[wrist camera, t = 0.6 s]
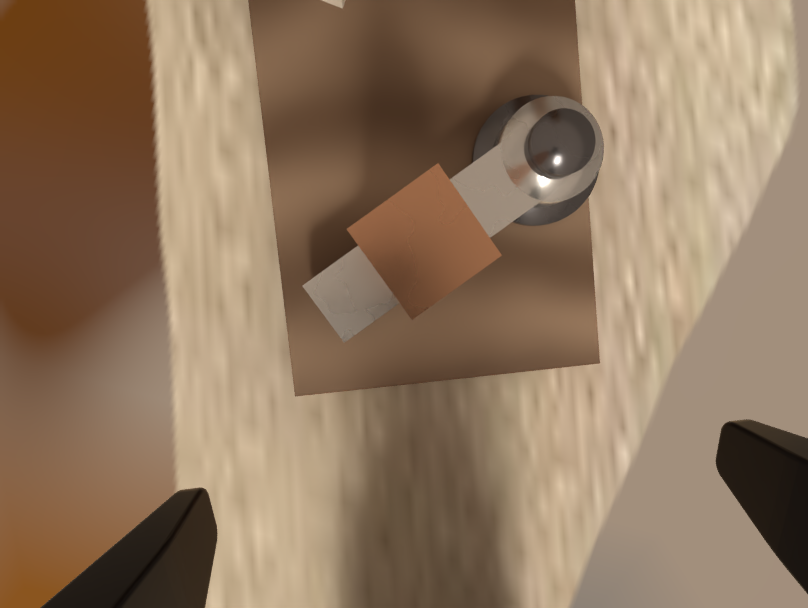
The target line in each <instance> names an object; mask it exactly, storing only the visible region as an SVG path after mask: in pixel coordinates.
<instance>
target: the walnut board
mask: <svg viewBox="0 0 808 608" xmlns="http://www.w3.org/2000/svg"><path fill="white" fill-rule="evenodd" d="M248 1H249V9H250V18H251V26H252V35H253V43H254V52H255V60H256V69H257V77H258V86H259V94H260V103H261V111H262V119H263V128H264V136H265V145H266V153H267V162H268V170H269V179H270V187H271V196H272V204H273V213H274V221H275V230H276V238H277V247H278V255H279V264H280V272H281V280H282V289H283V297H284V306H285V314H286V323H287V331H288V340H289V348H290V357H291V365H292V374H293V382H294V391H295V396H303V395H312V394H322V393H331V392H340V391H349V390H358V389H368V388H377V387H386V386H395V385H405V384H414V383H423V382H432V381H442V380H451V379H460V378H469V377H478V376H488V375H497V374H506V373H515V372H525V371H534V370H543V369H552V368H561V367H571V366H580V365H589V364H598V363H600V359H599V344H598V330H597V315H596V301H595V286H594V272H593V257H592V243H591V228H590V214H589V199H588V198H587V199H586V201H585V202H584V203H583V204H582V205H581V206H580V207H579V208H578V209H577V210H576V211H575V212H573V213H572V214H571V215H569V216H567V217H566V218H564V219H562V220H559V221H557V222H554V223H550V224H547V225H541V226H526V225H520V224H516V223H513V222H511V223H510V224H509V225H507V226H506V227H504V228H503V229H502V230H500V231H499V232H498V233H496V234H495V235H493V236H492V237H491V238H490V239H491V240H492V242H493V243H494V244H495V246H496V247H497V249H498V250H499V252H500V253H501V255H502V256H501V257H499V258H498V259H496V260H495V261H494V262H492V263H491V264H489V265H488V266H487V267H485V268H484V269H482V270H481V271H480V272H478V273H477V274H475V275H474V276H473V277H471V278H470V279H469V280H467V281H466V282H464V283H463V284H462V285H460V286H459V287H457V288H456V289H455V290H453V291H452V292H450V293H449V294H448V295H446V296H445V297H443V298H442V299H441V300H439V301H438V302H437V303H435V304H434V305H432V306H431V307H430V308H428V309H427V310H425V311H424V312H423V313H421V314H420V315H418V316H417V317H416V318H414V319H413V320H412V319H411V318H410V317H409V315H408V314H407V312H406V311H405V310H404V308H403V307H402V305H401V304H400V303H399V304H397V305H396V306H395V307H393V308H392V309H390V310H389V311H388V312H386V313H385V314H384V315H382V316H381V317H379V318H378V319H377V320H375V321H374V322H372V323H371V324H370V325H368V326H367V327H365V328H364V329H363V330H361V331H360V332H359V333H357V334H356V335H354V336H353V337H352V338H350V339H349V340H347V341H346V342H345V343H344V342H343V340H342V339H341V338H340V336H339V335H338V334H337V332H336V331H335V330H334V328H333V327H332V326H331V324H330V323H329V321H328V320H327V319H326V317H325V316H324V315H323V313H322V312H321V311H320V309H319V308H318V307H317V305H316V304H315V303H314V301H313V300H312V298H311V297H310V296H309V294H308V293H307V292H306V290H305V289H304V288H303V285H304V284H305V283H307V282H308V281H310V280H311V279H312V278H314V277H315V276H316V275H318V274H319V273H321V272H322V271H323V270H325V269H326V268H328V267H329V266H330V265H332V264H333V263H335V262H336V261H337V260H339V259H340V258H341V257H343V256H344V255H346V254H347V253H348V252H350V251H351V250H353V249H354V248H355V247H357V246H358V244H357V243H356V242H355V240H354V239H353V237H352V236H351V235H350V233H349V232H348V231H347V228H349V227H350V226H351V225H353V224H354V223H356V222H357V221H358V220H360V219H361V218H363V217H364V216H365V215H367V214H368V213H369V212H371V211H372V210H374V209H375V208H376V207H378V206H379V205H381V204H382V203H383V202H385V201H386V200H388V199H389V198H390V197H392V196H393V195H394V194H396V193H397V192H399V191H400V190H401V189H403V188H404V187H406V186H407V185H408V184H410V183H411V182H412V181H414V180H415V179H417V178H418V177H419V176H421V175H422V174H424V173H425V172H426V171H428V170H429V169H431V168H432V167H433V166H435V165H436V164H437V163H439V165H440V166H441V168H442V169H443V171H444V172H445V174H446V175H447V176H448V178H449V179H451V178H452V177H454V176H455V175H457V174H458V173H459V172H461V171H462V170H464V169H465V168H466V167H468V166H469V165H471V164H472V152H473V148H474V143H475V141H476V138H477V135H478V133H479V131H480V130H481V128H482V126H483V125H484V123H485V122H486V121H487V119H488V118H489V117H490V116H491V115H492V114H493V112H495V111H496V110H497V109H498V108H499V107H501V106H502V105H504V104H505V103H507V102H509V101H511V100H513V99H515V98H519V97H522V96H527V95H548V96H561V97H566V98H569V99H572V100H574V101H576V102H578V103H580V104H581V105H582V97H581V83H580V68H579V54H578V39H577V25H576V10H575V0H346V1H345V4H344V7H343V9H342V8H340V7H337V6H334V5H332V4H329V3H327V2H324V1H322V0H248Z"/></svg>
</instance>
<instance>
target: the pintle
mask: <svg viewBox="0 0 808 608" xmlns="http://www.w3.org/2000/svg"><path fill="white" fill-rule="evenodd" d="M546 96H548V95H527V96H522V97H519V98H515V99H513V100H511V101H509V102H507V103H505V104H504V105H502V106H501V107H499V108H498V109H497V110H496V111H495V112H493V114H492V115H491V116H490V117H489V118H488V119H487V121H486V122H485V123H484V125H483V126H482V128H481V130H480V131H479V133H478V135H477V138H476V141H475V143H474V148H473V152H472V163H473V162H475V161H476V160H477V159H479V158H480V157H482V156H483V155H484V154H486V153H487V152H489V151H490V150H491V149H492V148H493V144H494V142H495V139H496V137H497V135H498V134H499V132H500V131H501V129H502V128H503V127H504V126H505V125H506V123H507V122H508V121H509V120H510V119H511V118H512V116H513V115H514V114H515V113H516V112H517V111H518V110H519V109H520V108H521V107H522V106H524V105H525V104H527V103H528V102H530V101H532V100H535V99H537V98H541V97H546ZM595 143H596V139H595V133H594V129H593V127H592V125H591V123H590V122H589V120H588V119H587V118H586V117H585V116H584V115H583V114H581V113H580V112H578V111H576V110H573V109H568V108H560V109H555V110H552V111H550V112H548V113H546V114H545V115H544V116H543V117H541V118H540V119H539V120H538V121H537V122H536V123H535V124H534V125H533V126H532V127H531V129H530V130H529V132H528V134H527V136H526V138H525V143H524V154H525V158H526V161H527V163H528V165H529V166H530V168H531V169H532V170H533V171H534V172H535V173H537V174H538V175H540V176H541V177H544V178H547V179H561V178H565V177H567V176H569V175H571V174H573V173H575V172H577V171H579V170H580V169H582V168H583V167H584V166H585V165H586V164H587V163H588V162H589V161H590V159H591V157H592V155H593V153H594V149H595ZM597 176H598V173H597V175H596V177H595V179H594V180H593V181H592V183H591V184H590V185H589V186H588V187H587V188H586V189H585V190H584V191H582V192H581V193H579V194H578V195H576V196H574V197H572V198H570V199H567V200H564V201H562V202H559V203H557V204H554V205H551V206H548V207H542V208H531V209H529V210H528V211H527V212H525V213H524V214H523V215H521V216H520V217H518V218H517V219H516V220H514V221H513V223H516V224H520V225H526V226H541V225H547V224H550V223H554V222H557V221H559V220H562V219H564V218H566V217H567V216H569V215H571V214H572V213H573V212H575V211H576V210H577V209H578V208H579V207H580V206H581V205H582V204H583V203H584V202H585V201H586V199H587V198H588V197H589V195H590V193H591V191H592V190H593V188H594V185H595V183H596V180H597Z"/></svg>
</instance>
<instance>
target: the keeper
mask: <svg viewBox="0 0 808 608" xmlns="http://www.w3.org/2000/svg"><path fill="white" fill-rule="evenodd" d="M322 1H324V2H327V3H329V4H332V5H334V6H337V7H340V8H342V9H343V7H344V4H345V1H346V0H322Z"/></svg>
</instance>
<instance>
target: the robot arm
mask: <svg viewBox="0 0 808 608" xmlns="http://www.w3.org/2000/svg"><path fill="white" fill-rule="evenodd" d="M716 466H717V470H718V472H719V474H720V476H721V477H722V479H723V480H724V482H725V483H726V484H727V486H728V487H729V489H730V490H731V492H732V493H733V495H734V496H735V497H736V499H737V500H738V502H739V503H740V505H741V506H742V508H743V509H744V510H745V512H746V513H747V515H748V516H749V518H750V519H751V521H752V522H753V523H754V525H755V526H756V528H757V529H758V531H759V532H760V533H761V535H762V536H763V538H764V539H765V540H766V542H767V543H768V545H769V546H770V547H771V549H772V550H773V552H774V553H775V554H776V556H777V557H778V558H779V560H780V561H781V562H782V563H783V565H784V566H785V567H786V568H787V570H788V571H789V572H790V573H791V575H792V576H793V577H794V578H795V579H796V581H797V582H798V583H799V584H800V585H801V587H802V588H803V589H804V590H805V591H806V593H807V594H808V438H805V437H802V436H798V435H796V434H792V433H790V432H787V431H784V430H780V429H777V428H774V427H771V426H768V425H765V424H762V423H759V422H756V421H753V420H747V419H746V420H737V421H729V422H727V423H725V424H724V425H723V427H722V429H721V433H720V439H719V444H718V450H717V455H716ZM216 543H217V525H216V521H215V517H214V514H213V510H212V506H211V502H210V498H209V495H208V492H207V491H206V489H204V488H193V489H185V490H180V491H178V492H177V493H175V494H174V495H173V496H171V497H170V498H169V499H168V500H167V501H166V502H164V503H163V504H162V505H161V506H160V507H159V508H157V509H156V510H155V511H154V512H153V513H152V514H150V515H149V516H148V517H147V518H146V519H144V520H143V521H142V522H141V523H140V524H139V525H137V526H136V527H135V528H134V529H133V530H132V531H130V532H129V533H128V534H127V535H126V536H125V537H123V538H122V539H121V540H120V541H118V542H117V543H116V544H115V545H114V546H113V547H111V548H110V549H109V550H108V551H107V552H106V553H104V554H103V555H102V556H101V557H100V558H99V559H98V560H96V561H95V562H94V563H93V564H91V565H90V566H89V567H88V568H87V569H86V570H84V571H83V572H82V573H81V574H80V575H79V576H77V577H76V578H75V579H74V580H73V581H72V582H70V583H69V584H68V585H67V586H65V587H64V588H63V589H62V590H61V591H60V592H58V593H57V594H56V595H55V596H54V597H53V598H51V599H50V600H49V601H48V602H47V603H46V604H44V605H43V606H42V607H41V608H205V604H206V599H207V593H208V588H209V582H210V577H211V571H212V566H213V560H214V554H215V549H216Z"/></svg>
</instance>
